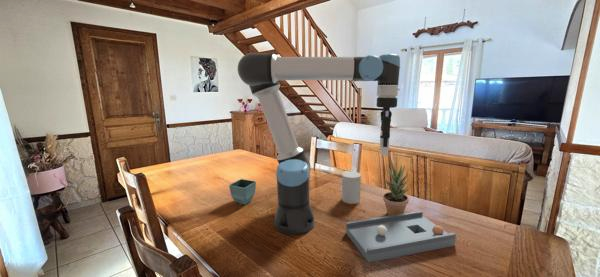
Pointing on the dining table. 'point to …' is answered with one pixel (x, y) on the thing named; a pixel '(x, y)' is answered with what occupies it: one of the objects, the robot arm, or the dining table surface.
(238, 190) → the flower pot
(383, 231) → the ball
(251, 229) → the dining table surface
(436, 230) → the rust ball
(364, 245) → the tray
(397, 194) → the potted plant
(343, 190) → the cup
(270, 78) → the robot arm
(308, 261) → the dining table surface
